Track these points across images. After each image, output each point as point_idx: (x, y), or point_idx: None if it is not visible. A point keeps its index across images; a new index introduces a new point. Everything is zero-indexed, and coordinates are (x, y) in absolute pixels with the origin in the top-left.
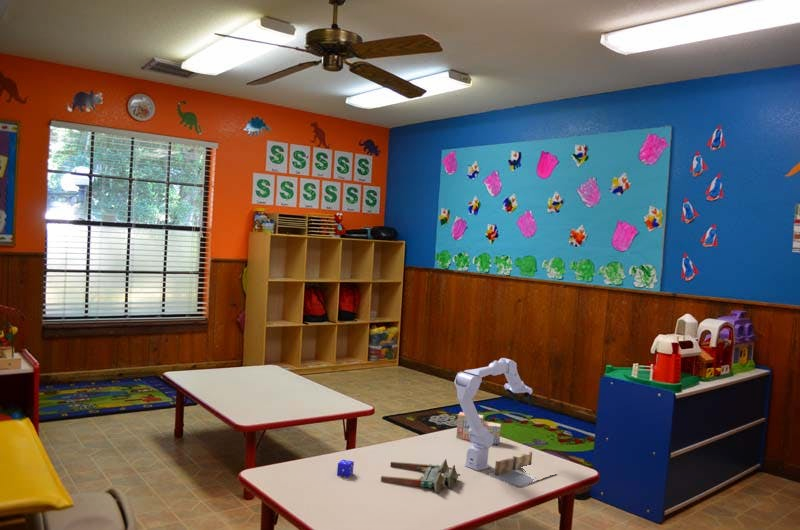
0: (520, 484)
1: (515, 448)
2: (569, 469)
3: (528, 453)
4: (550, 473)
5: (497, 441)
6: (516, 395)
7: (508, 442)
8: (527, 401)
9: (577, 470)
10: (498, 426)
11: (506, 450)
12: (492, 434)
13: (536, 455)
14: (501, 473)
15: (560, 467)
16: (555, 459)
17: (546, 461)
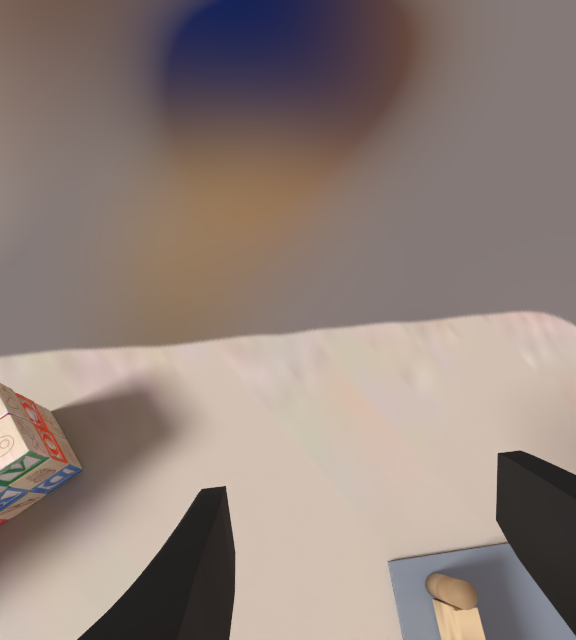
0: None
1: (178, 411)
2: (527, 397)
3: (468, 620)
4: None
5: (68, 469)
6: (211, 580)
7: (88, 368)
8: (567, 615)
9: (546, 371)
10: (17, 454)
11: (175, 495)
12: (14, 490)
13: (312, 390)
14: None
15: (493, 418)
16: (392, 345)
17: (401, 415)
